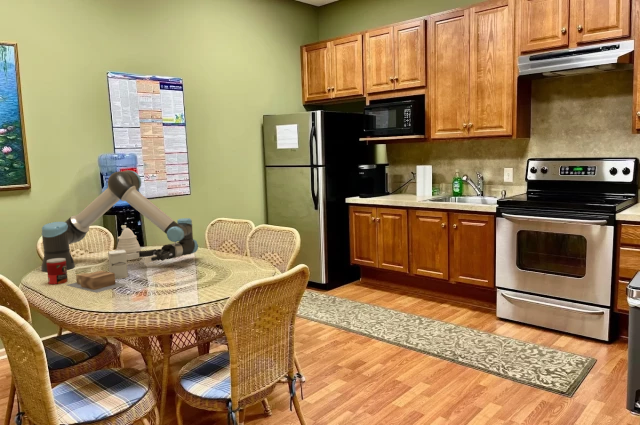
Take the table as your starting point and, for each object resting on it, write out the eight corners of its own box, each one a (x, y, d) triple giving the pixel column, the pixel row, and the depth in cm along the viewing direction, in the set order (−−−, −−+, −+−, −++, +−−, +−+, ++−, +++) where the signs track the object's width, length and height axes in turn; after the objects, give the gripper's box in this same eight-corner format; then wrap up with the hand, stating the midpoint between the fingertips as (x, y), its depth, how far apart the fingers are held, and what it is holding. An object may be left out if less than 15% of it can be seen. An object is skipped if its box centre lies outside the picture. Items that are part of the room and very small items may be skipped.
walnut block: (81, 286, 214) (80, 275, 213) (102, 281, 222) (101, 270, 222) (94, 289, 208) (93, 278, 208) (115, 284, 217) (114, 273, 216)
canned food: (59, 286, 218) (57, 261, 217) (44, 285, 220) (42, 261, 219) (71, 281, 226) (69, 258, 224) (56, 281, 227) (54, 257, 226)
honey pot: (111, 259, 272) (109, 227, 269) (125, 254, 284) (123, 223, 282) (132, 260, 269) (130, 227, 267) (145, 255, 281) (143, 224, 279)
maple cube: (76, 283, 220) (75, 274, 219) (85, 281, 223) (84, 272, 222) (81, 284, 217) (80, 275, 217) (90, 282, 221) (89, 273, 220)
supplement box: (111, 280, 225) (109, 253, 224) (109, 277, 232) (107, 251, 230) (128, 278, 229) (126, 251, 227) (126, 275, 235) (124, 249, 234)
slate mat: (65, 286, 218) (65, 285, 217) (95, 279, 229) (95, 277, 229) (96, 294, 204) (96, 292, 204) (126, 286, 216) (126, 284, 215)
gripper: (155, 241, 261) (119, 249, 244) (187, 245, 247) (151, 253, 230) (156, 255, 262) (121, 263, 245) (188, 260, 248) (153, 269, 231)
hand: (135, 259), depth 237 cm, fingers open, 13 cm apart
